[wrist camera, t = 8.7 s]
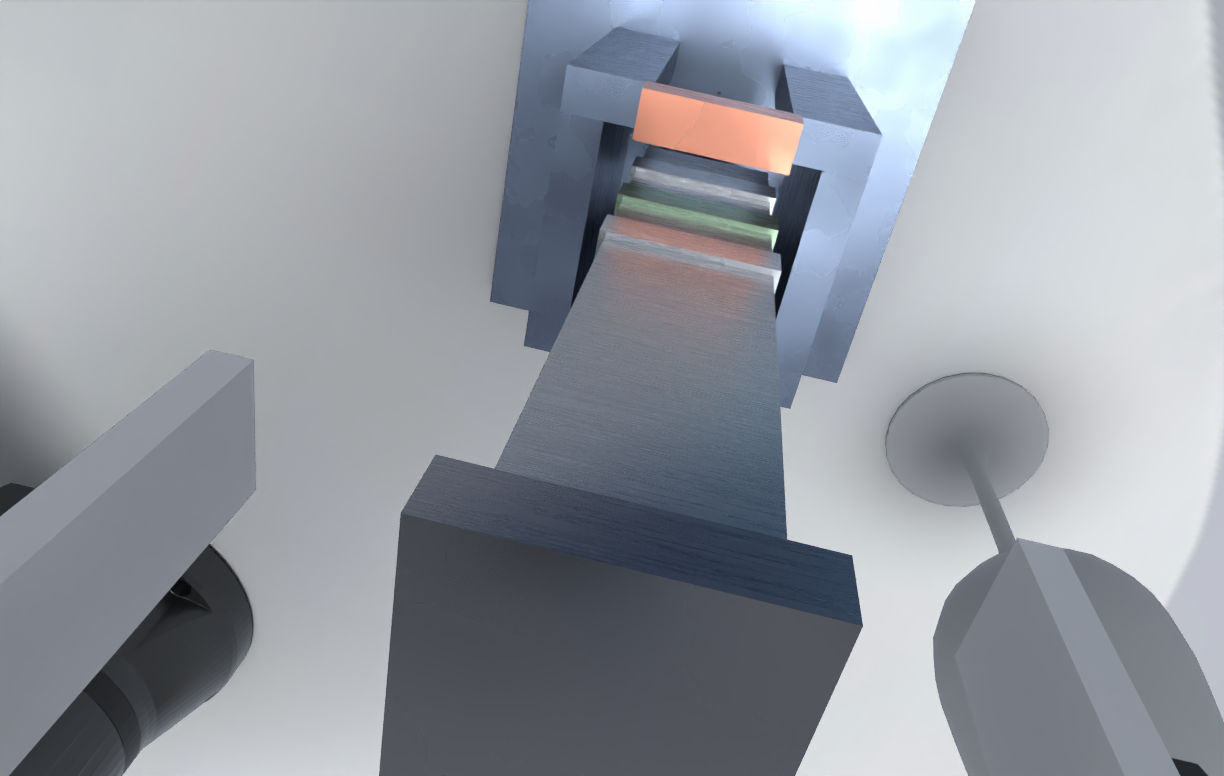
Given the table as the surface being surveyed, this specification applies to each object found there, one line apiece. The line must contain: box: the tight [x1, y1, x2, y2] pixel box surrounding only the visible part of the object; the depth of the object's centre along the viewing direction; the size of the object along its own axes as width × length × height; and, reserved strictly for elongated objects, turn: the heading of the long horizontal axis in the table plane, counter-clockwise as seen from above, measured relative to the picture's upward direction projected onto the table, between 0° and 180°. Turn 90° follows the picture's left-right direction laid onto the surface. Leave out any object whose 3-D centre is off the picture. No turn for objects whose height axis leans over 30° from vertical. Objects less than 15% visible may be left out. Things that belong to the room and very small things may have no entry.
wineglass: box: [886, 373, 1224, 776], centre depth 32 cm, size 8×8×21 cm
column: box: [379, 146, 863, 776], centre depth 20 cm, size 5×5×21 cm
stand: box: [490, 0, 976, 409], centre depth 31 cm, size 16×16×13 cm
